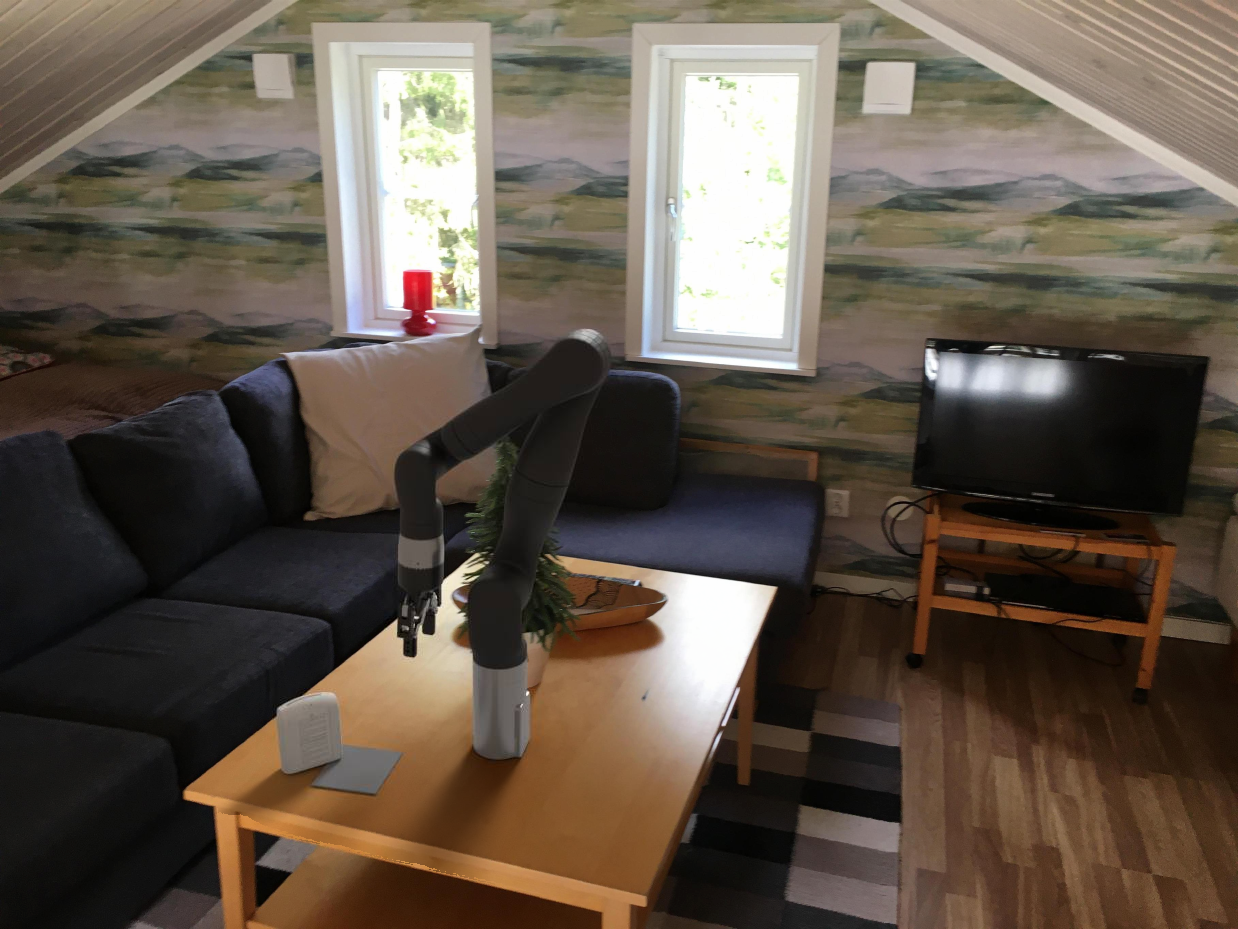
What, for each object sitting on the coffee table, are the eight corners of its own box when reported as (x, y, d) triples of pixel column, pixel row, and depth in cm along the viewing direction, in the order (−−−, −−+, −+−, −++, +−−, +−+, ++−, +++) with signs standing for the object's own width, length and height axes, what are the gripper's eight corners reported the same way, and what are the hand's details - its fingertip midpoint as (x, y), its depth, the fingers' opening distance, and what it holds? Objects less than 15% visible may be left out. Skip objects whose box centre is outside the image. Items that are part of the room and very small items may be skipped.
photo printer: (338, 747, 176) (332, 682, 173) (347, 758, 173) (340, 693, 169) (278, 766, 171) (270, 700, 167) (285, 778, 168) (278, 711, 164)
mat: (402, 753, 176) (402, 752, 176) (375, 795, 164) (375, 793, 164) (342, 745, 177) (342, 744, 177) (311, 786, 166) (311, 784, 166)
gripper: (426, 577, 164) (425, 667, 169) (456, 545, 177) (454, 630, 182) (382, 570, 165) (382, 660, 170) (415, 539, 178) (414, 623, 183)
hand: (419, 644), depth 176 cm, fingers open, 8 cm apart
